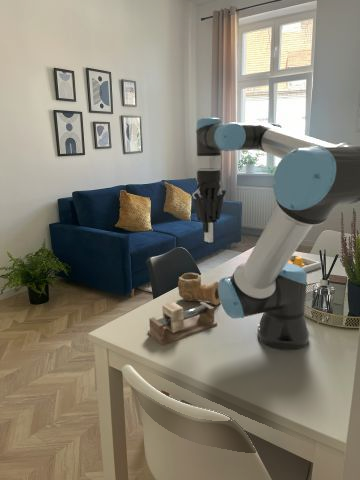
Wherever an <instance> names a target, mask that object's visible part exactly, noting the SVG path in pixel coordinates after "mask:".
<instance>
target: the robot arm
mask: <svg viewBox="0 0 360 480" xmlns="http://www.w3.org/2000/svg"><path fill="white" fill-rule="evenodd" d="M195 134H196V168H197V171H196V182H197V187H196V191H195V192H191V193H190V196H191V198H192V199H193V203H194V209H195V213H196V220H197V221H199V222H202V231H203V234H204V237H203V238H204V239H203V240H204V242H206V243H207V242H208V243H213V242H214V232H215V224H216V223H217V222H218V220H220V218H221V214H222V213H221V212H222V206H223V202H224V197H225V196H226V192H227V191H226V190H225V189H222V188H221V185H220V182H221V175H222V172H221V170H220V168H221V166H222V162H221V161H222V158H221V157H222V154H221V153H222V151H225V152H233V151H252V150H254V151H255V150H256V151H257V150H259V151H261V152H264V153H267V154H269V155H272V156H275V157H277V158H279V159H280V161H279V163H278V164H277V166H276V167H275V170H274V173H273V178H272V179H273V180H274V183H273V184H272V191H273V194H274V198H275V203H276V208H275V210H274V212H273V213H272V214H271V217H270V219H269V220H268V222H267V224H266V226H265V227H264V229H263V231H262V233H261V234H260V236H259V239H258V240H257V241H256V243H255V245H254V247H253V248H252V251H251V253H250V254H249V256H248V257H247V259H246V261H245V262H242V263H240V264H239V265H238V266H237V267H236V268H235V270H234V272H233V273H232V274H231V276H224V277H222V278H220V279H219V284H218V293H219V298H220V304H221V307H222V309H223V310H224V312H225V314H226V315H227V316H228V317H230V318H231V319H235V320H237V319H240V318H241V319H244V318H245V317H246V318H247V317H250V316H251V317H252V316H254V315H258V314H262V316H261V318H260V320H259V323H258V325H257V337H258V339H259V340H260V341H261V342H262V343H263V344H265V345H267V346H269V347H271V348H274V349H279V350H297V349H301V348H303V347H304V348H305V346H306V345H308V343H309V339H310V332H309V329H308V326H307V323H306V318H305V307H306V295H307V286H308V277H307V276H308V275H307V274H308V272H306V271H305V270H304V269H303V268H302V267H300V266H298V265H295V264H291V263H287V262H288V261H289V259H290V258H291V256H292V255H294V254H295V252H296V251H297V249H298V248H299V246H300V245H301V244H302V242H303V241H304V239H305V238H306V236H307V235H308V233H309V231H310V230H312V227H313V226H319V225H322V224H323V223H325V222H326V221H327V220H328V218H329V216H331V214H332V212H333V211H334V209H336V207H338V206H342V205H350V204H357V203H360V145H357V144H354V143H349V142H341V143H339V144H336V143H333V142H328V141H325V140H322V139H318V138H315V137H313V136H309V135H306V134H302V133H298V132H295V131H292V130H288V129H285V128H283V127H282V125H281V124H280V123H273V122H264V123H263V122H261V123H260V122H259V123H257V122H256V123H251V122H248V123H246V122H233V121H232V122H230V121H229V122H224V123H222V120H221V118H219V117H203V118H199V119H198V120H197V121H196V130H195ZM221 169H222V168H221Z"/></svg>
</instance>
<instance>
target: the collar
mask: <svg viewBox="0 0 360 480" xmlns="http://www.w3.org/2000/svg"><path fill="white" fill-rule="evenodd" d="M161 309H162V318H164V317H167V316H169V317H171V324H170V325H167V326H164V327H166V328H167V329H168V330H170V331H171V332H172V333H175V332H177V331H180V330H183V329H184V320H183V311H184V307H183V306H181V305H179V304H178V303H175V302H174V301H171V302H168V303H165V304H162V307H161Z"/></svg>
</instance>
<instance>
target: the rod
mask: <svg viewBox="0 0 360 480" xmlns="http://www.w3.org/2000/svg"><path fill="white" fill-rule="evenodd" d="M206 312H207V307H206V305H202V306H200V305H199V306H195V307H193V308H190V309H186V310H183V320H185V319H188V318H191V317H194V316H197V315H200V314H203V313H206ZM157 320H158V321H159V322H161V323H162V324H163V325H164V326H167V325H170V324H171V317H169V316H167V317H164V318H163V317H161V318H158V319H157Z"/></svg>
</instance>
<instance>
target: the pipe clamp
mask: <svg viewBox="0 0 360 480" xmlns="http://www.w3.org/2000/svg"><path fill="white" fill-rule="evenodd" d="M301 257H302V256H301ZM301 257H296V258H295V260H293V261H290V259H289V261H288V262H287V263H291V264H295V265H298V266H300V267H304V266H306V264H305V263H302V258H301Z"/></svg>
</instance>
